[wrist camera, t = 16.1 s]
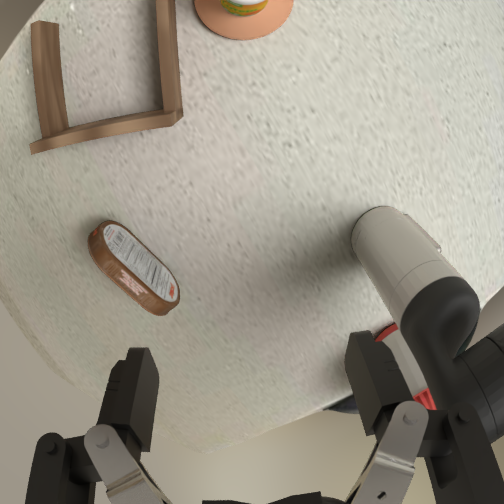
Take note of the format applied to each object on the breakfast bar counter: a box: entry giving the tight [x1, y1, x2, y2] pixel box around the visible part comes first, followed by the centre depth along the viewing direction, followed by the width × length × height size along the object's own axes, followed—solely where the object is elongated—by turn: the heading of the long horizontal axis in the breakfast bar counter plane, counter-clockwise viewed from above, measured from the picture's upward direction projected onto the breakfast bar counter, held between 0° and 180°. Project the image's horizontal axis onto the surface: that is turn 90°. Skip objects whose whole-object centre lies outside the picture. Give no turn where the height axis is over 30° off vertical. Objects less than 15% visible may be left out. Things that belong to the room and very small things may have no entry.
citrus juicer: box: [375, 323, 437, 410], centre depth 49 cm, size 16×17×20 cm
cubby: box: [29, 0, 183, 155], centre depth 27 cm, size 16×16×8 cm
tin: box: [88, 221, 180, 316], centre depth 40 cm, size 15×3×8 cm, turn 37°
